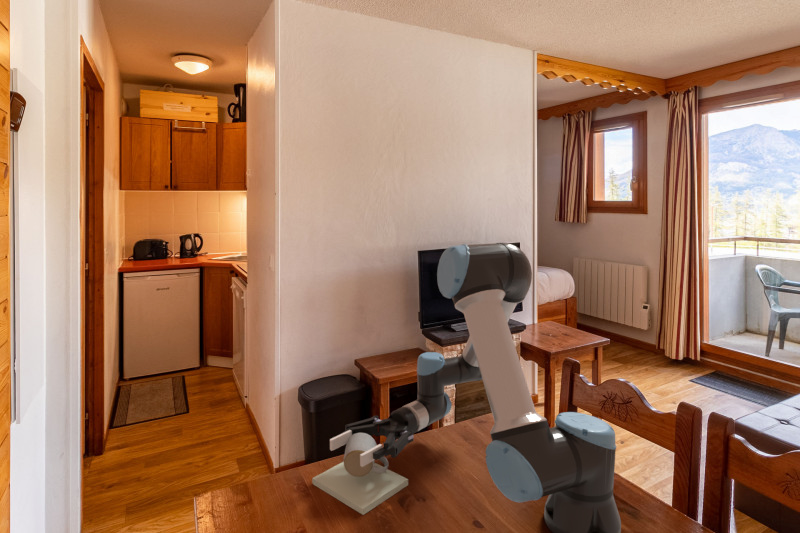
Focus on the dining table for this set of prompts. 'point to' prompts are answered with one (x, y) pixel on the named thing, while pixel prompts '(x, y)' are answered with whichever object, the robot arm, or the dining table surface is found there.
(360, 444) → the ceramic mug
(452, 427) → the dining table surface
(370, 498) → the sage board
